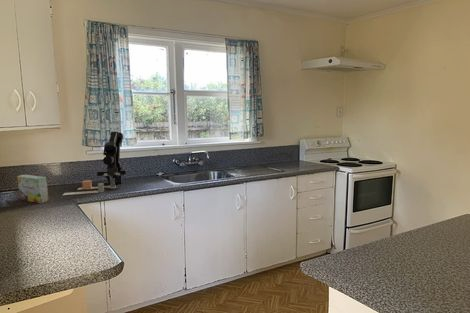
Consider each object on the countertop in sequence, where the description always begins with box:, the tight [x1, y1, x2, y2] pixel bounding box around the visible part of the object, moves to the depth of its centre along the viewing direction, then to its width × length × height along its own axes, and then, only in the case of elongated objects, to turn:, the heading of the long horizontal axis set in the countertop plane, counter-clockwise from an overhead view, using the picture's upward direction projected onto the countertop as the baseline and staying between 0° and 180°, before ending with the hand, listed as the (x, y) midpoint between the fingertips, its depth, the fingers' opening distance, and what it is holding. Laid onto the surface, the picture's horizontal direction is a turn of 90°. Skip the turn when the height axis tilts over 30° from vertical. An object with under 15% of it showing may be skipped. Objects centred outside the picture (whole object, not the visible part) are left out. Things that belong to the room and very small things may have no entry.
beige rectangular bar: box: [76, 178, 117, 191], centre depth 228 cm, size 24×6×6 cm, turn 105°
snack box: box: [16, 174, 50, 204], centre depth 199 cm, size 21×6×15 cm, turn 62°
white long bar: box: [62, 182, 105, 196], centre depth 214 cm, size 24×6×6 cm, turn 105°
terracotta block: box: [81, 179, 93, 190], centre depth 226 cm, size 5×5×5 cm
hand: (112, 184), depth 230 cm, fingers closed on beige rectangular bar, 3 cm apart
